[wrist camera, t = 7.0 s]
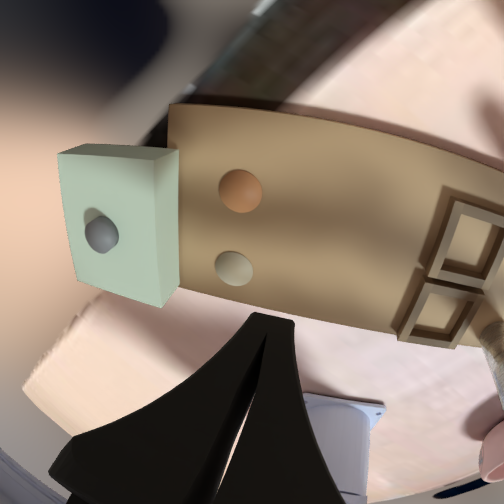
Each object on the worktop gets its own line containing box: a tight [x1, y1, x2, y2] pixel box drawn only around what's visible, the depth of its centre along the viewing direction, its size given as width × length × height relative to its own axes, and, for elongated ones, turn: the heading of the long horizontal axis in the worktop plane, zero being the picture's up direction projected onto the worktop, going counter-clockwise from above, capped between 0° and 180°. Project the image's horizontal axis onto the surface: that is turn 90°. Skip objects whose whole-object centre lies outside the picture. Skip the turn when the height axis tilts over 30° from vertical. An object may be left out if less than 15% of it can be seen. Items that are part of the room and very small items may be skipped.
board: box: [167, 103, 504, 349], centre depth 16 cm, size 12×26×2 cm, turn 84°
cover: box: [57, 144, 180, 308], centre depth 18 cm, size 9×7×4 cm
